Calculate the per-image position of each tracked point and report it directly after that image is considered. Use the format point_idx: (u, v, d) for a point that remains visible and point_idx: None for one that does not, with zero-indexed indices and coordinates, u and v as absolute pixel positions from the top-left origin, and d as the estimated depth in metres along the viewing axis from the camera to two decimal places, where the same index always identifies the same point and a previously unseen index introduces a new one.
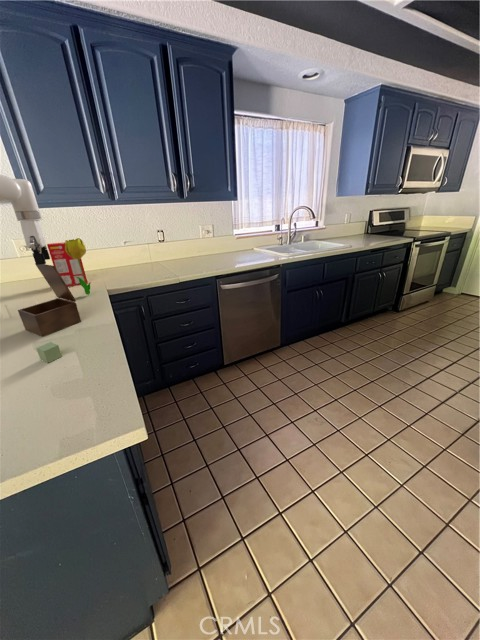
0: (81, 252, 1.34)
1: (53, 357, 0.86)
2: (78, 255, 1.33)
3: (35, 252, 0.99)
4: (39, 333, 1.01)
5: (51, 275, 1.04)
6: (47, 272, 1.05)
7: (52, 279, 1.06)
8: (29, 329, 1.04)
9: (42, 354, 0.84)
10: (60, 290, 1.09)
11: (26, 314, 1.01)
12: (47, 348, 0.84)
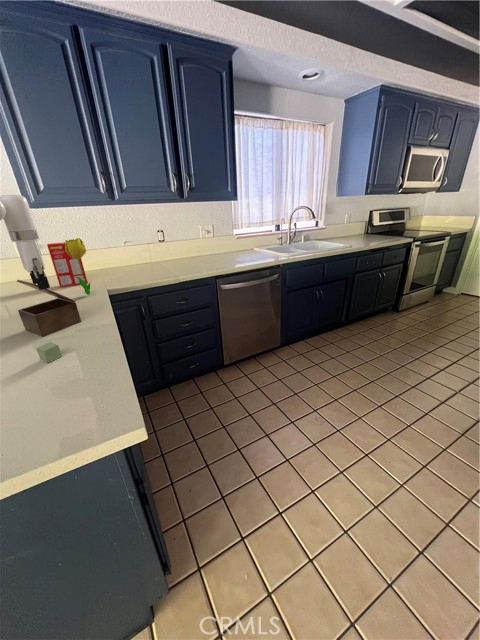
0: (81, 252, 1.34)
1: (53, 357, 0.86)
2: (78, 255, 1.33)
3: (40, 276, 0.88)
4: (39, 333, 1.01)
5: (38, 288, 1.02)
6: (33, 287, 1.01)
7: (42, 290, 1.04)
8: (29, 329, 1.04)
9: (42, 354, 0.84)
10: (56, 295, 1.08)
11: (26, 314, 1.01)
12: (47, 348, 0.84)
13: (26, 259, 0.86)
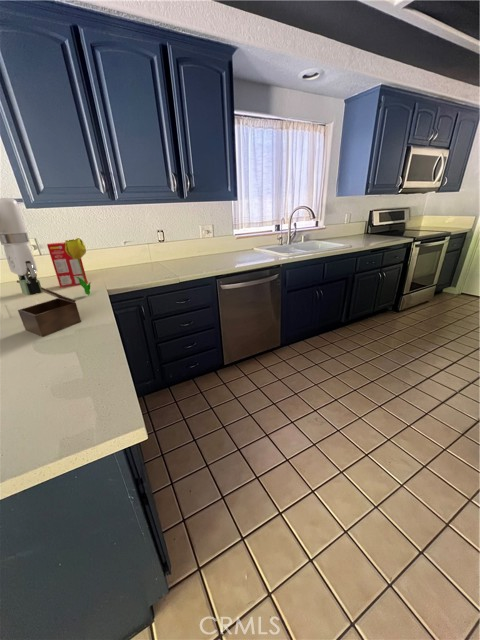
0: (81, 252, 1.34)
1: None
2: (78, 255, 1.33)
3: (32, 281, 0.89)
4: (39, 333, 1.01)
5: None
6: None
7: (42, 290, 1.04)
8: (29, 329, 1.04)
9: (23, 286, 0.90)
10: (56, 296, 1.08)
11: (26, 314, 1.01)
12: None
13: (19, 262, 0.85)
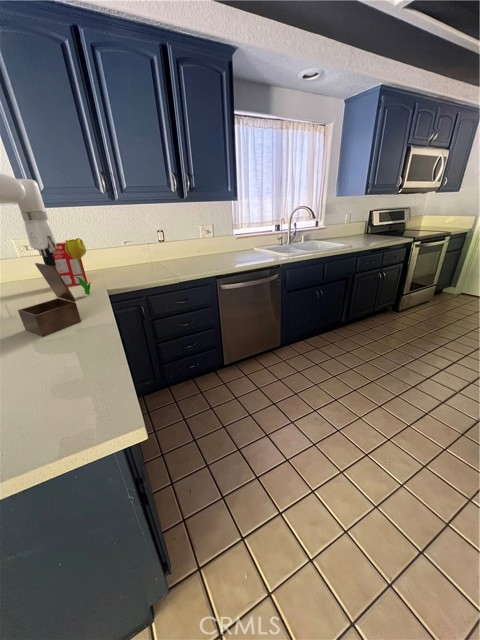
0: (81, 252, 1.34)
1: None
2: (78, 255, 1.33)
3: (49, 254, 1.02)
4: (39, 333, 1.01)
5: (51, 275, 1.04)
6: (47, 272, 1.05)
7: (52, 279, 1.06)
8: (29, 329, 1.04)
9: None
10: (60, 290, 1.09)
11: (26, 314, 1.01)
12: None
13: (42, 237, 0.96)
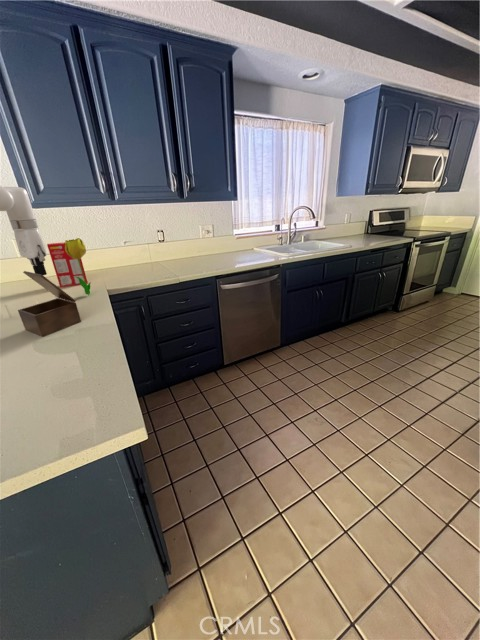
0: (81, 252, 1.34)
1: None
2: (78, 255, 1.33)
3: (39, 263, 0.99)
4: (39, 333, 1.01)
5: (43, 282, 1.02)
6: (38, 279, 1.02)
7: (45, 285, 1.05)
8: (29, 329, 1.04)
9: None
10: (57, 293, 1.08)
11: (26, 314, 1.01)
12: None
13: (31, 246, 0.94)
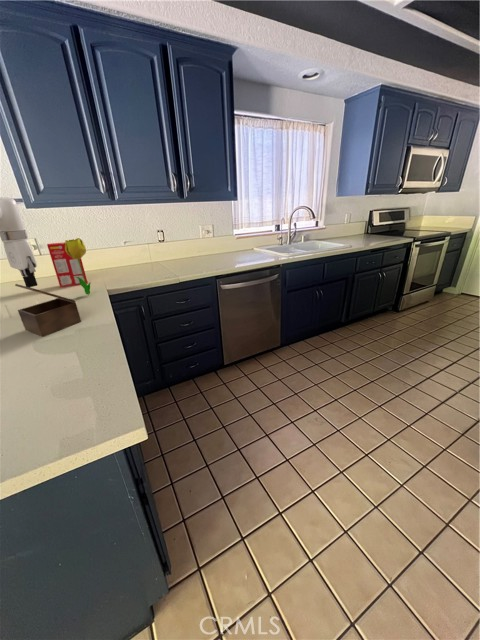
0: (81, 252, 1.34)
1: None
2: (78, 255, 1.33)
3: (30, 274, 0.97)
4: (39, 333, 1.01)
5: None
6: None
7: None
8: (29, 329, 1.04)
9: None
10: None
11: (26, 314, 1.01)
12: None
13: (21, 257, 0.92)
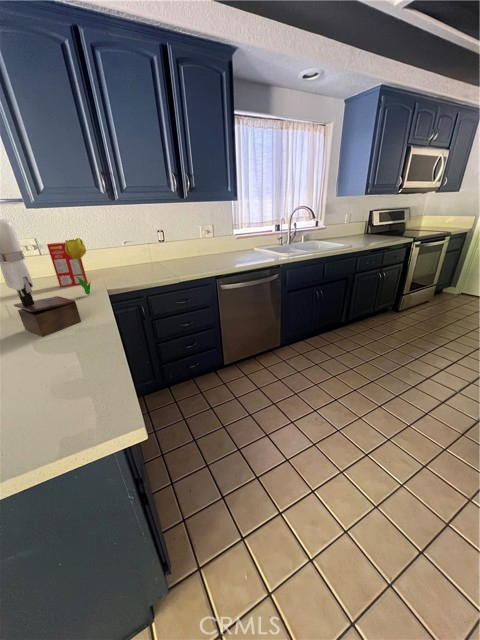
0: (81, 252, 1.34)
1: None
2: (78, 255, 1.33)
3: (26, 294, 0.98)
4: (39, 333, 1.01)
5: None
6: None
7: None
8: (29, 329, 1.04)
9: None
10: None
11: (26, 314, 1.01)
12: None
13: (17, 278, 0.92)
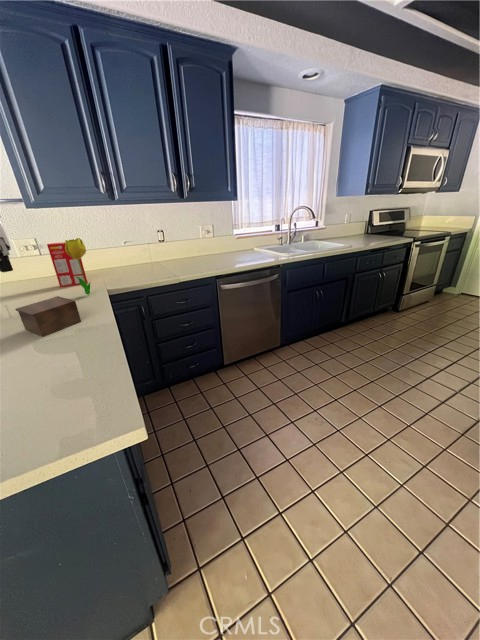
0: (81, 252, 1.34)
1: None
2: (78, 255, 1.33)
3: (4, 258, 0.90)
4: (39, 333, 1.01)
5: None
6: None
7: None
8: (29, 329, 1.04)
9: None
10: None
11: (26, 314, 1.01)
12: None
13: None
